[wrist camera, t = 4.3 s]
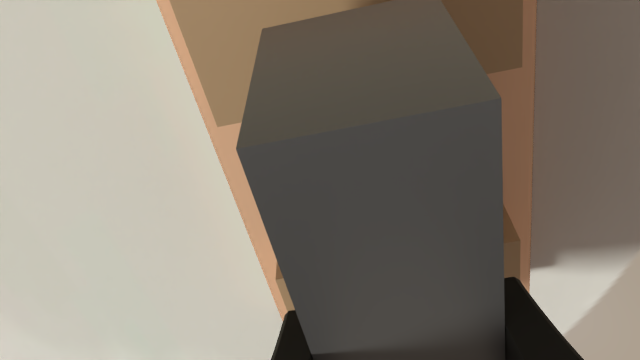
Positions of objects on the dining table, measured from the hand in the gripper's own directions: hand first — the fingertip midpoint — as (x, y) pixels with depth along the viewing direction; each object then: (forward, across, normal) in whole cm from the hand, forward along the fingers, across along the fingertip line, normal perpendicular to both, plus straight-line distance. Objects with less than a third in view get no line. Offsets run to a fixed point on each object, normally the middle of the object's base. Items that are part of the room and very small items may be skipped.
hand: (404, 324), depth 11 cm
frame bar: (+3, 0, 0) cm, 3 cm away
